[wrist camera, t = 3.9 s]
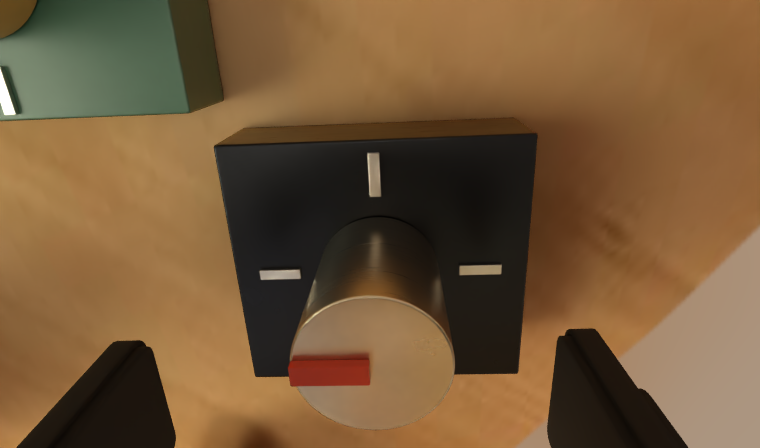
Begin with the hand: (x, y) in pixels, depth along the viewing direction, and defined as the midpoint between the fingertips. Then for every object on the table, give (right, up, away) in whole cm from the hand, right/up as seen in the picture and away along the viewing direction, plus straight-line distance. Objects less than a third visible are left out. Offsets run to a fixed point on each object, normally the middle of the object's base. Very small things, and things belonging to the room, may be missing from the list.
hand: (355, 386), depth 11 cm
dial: (+1, +2, +5) cm, 6 cm away
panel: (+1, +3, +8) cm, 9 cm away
